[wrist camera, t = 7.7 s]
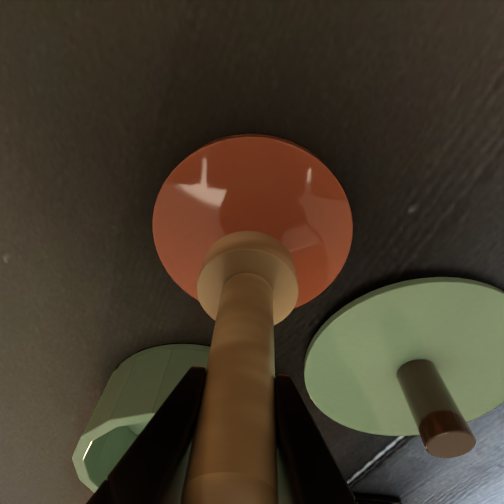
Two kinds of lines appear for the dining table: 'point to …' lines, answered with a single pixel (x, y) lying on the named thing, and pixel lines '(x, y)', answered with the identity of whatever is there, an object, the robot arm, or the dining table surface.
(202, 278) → the pestle
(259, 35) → the dining table surface
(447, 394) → the pot lid
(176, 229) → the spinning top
